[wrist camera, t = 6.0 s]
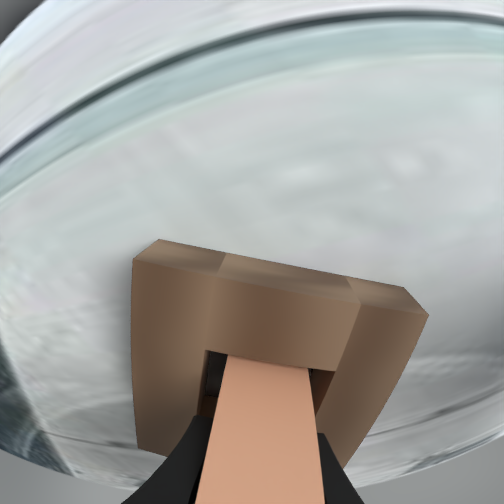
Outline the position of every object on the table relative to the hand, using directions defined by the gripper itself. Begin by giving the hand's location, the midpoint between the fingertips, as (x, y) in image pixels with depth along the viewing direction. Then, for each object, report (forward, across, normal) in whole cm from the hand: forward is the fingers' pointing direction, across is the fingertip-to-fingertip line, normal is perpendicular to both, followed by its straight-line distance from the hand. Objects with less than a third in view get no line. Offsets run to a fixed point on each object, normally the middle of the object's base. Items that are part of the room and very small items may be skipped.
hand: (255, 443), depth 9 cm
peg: (+3, 0, 0) cm, 3 cm away
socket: (+4, 0, 0) cm, 4 cm away
